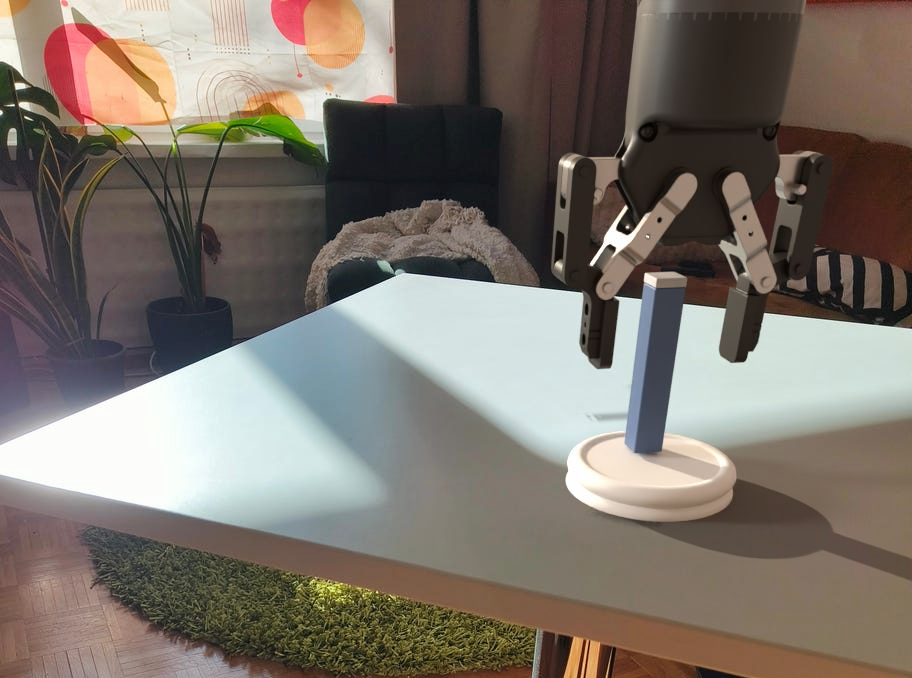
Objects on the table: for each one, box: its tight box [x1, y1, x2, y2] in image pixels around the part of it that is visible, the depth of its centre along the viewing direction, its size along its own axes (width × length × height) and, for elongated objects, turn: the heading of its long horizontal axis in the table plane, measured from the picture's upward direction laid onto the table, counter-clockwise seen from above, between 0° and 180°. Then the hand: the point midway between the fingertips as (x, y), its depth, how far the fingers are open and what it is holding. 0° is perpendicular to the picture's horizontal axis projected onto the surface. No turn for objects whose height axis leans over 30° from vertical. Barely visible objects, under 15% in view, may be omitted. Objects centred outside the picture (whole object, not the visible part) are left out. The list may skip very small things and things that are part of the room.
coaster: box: [565, 430, 738, 523], centre depth 54 cm, size 10×10×4 cm
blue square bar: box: [624, 271, 688, 453], centre depth 52 cm, size 2×2×10 cm
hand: (666, 361), depth 50 cm, fingers open, 7 cm apart
